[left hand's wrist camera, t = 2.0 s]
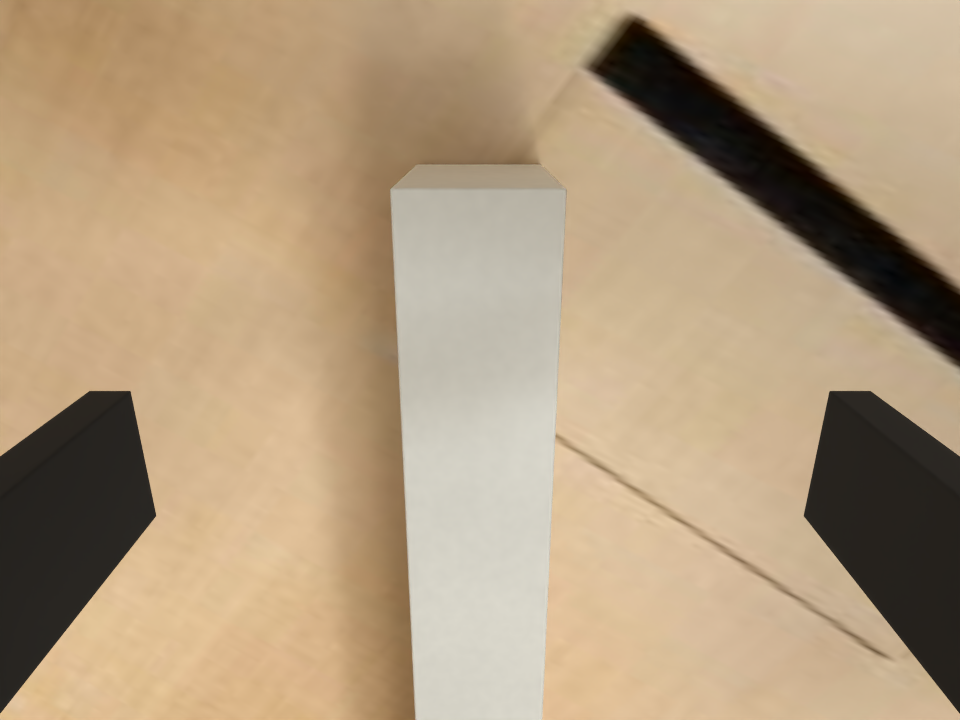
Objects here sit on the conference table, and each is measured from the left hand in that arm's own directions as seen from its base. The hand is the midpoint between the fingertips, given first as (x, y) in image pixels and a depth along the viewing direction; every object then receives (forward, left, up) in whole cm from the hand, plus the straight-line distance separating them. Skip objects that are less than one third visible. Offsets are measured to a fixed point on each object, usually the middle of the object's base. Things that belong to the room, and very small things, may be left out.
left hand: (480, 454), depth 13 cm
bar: (+10, +30, -16) cm, 35 cm away
